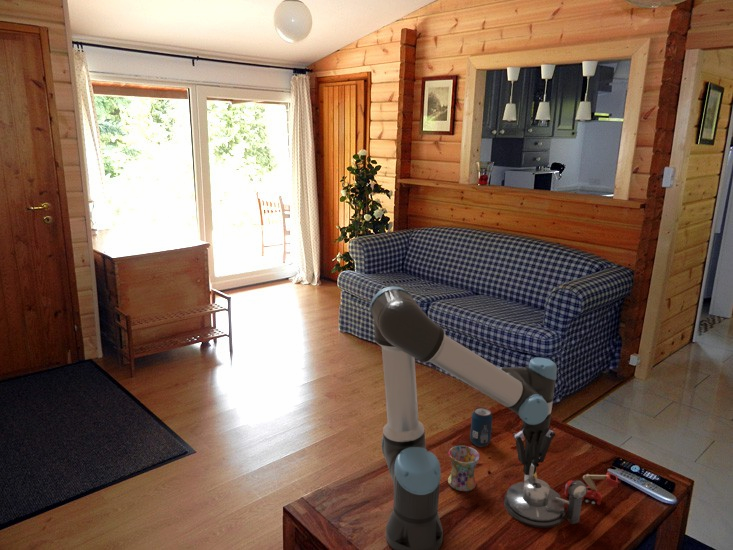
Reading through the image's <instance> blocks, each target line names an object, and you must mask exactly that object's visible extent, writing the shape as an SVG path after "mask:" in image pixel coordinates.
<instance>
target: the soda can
mask: <svg viewBox="0 0 733 550" xmlns="http://www.w3.org/2000/svg"><path fill="white" fill-rule="evenodd" d="M470 421H471V423H470V433H469V435H470V436H469V439H470V441H471V443H472V445H474V446H476V447H479V448H482V447H487V446H488V445H489V444H490V442H491V440H492V439H491V437H492V426H493V415H492V411H491V410H490V409H489V408H486V407H484V406H483V407H482V406H481V407H480V406H479V407H475V408H474V410H473V412H472V413H471V420H470Z"/></svg>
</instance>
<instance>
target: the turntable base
mask: <svg viewBox="0 0 733 550" xmlns="http://www.w3.org/2000/svg"><path fill="white" fill-rule="evenodd" d="M506 496H507V492H506V493H505V494H504V500H503V504H504V505H503V506H504V508H505V510H506V512H507V513H508V514H509V515H510V516H511V517H512V518H514V520H516V521H518V522H520V523H522V524H524V525H526V526H529V527H534V528H538V529H550V528H554V527H556V526H559V525H560V524H562V523H563V521H565V519H566V515H567V510H566V505H565V506H564V513H563V515H562V517H561V518H559V519H558V520H556V521H553V522H548V523H540V522H534V521H530V520H527V519H525V518H522V517H521V516H519V515H517V514H516V513H515V512H513V511H512V510H511V509H510V507H509V506H508V504H507V500H506Z"/></svg>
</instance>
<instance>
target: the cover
mask: <svg viewBox="0 0 733 550" xmlns="http://www.w3.org/2000/svg"><path fill="white" fill-rule="evenodd" d="M523 482H524V490H523V499H524V501H525V502H526V503H528V504H529V505H531V506H534V507H544V506H546V505H547V504H548V499H549V491H550V488H551V487H550V485H549V483H548V482H546V481H545V480H543V479H541V478H538V477H537V478H529V479H527V480H526V481H523Z"/></svg>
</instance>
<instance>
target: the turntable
mask: <svg viewBox="0 0 733 550" xmlns="http://www.w3.org/2000/svg"><path fill="white" fill-rule="evenodd" d="M537 474H538V473H537V472H536V473H535V474H533V478H537V479H538V475H537ZM524 482H525V481H519V482H516V483H514V484H512V485H511V486H509V488H508V489H507V491H506V493H507V496H506V500H507V504H508V506H509V507H510V509H511V510H512V511H513V512H515V513H516V514H517V515H519V516H521V517H522V518H525V519H527V520H530V521H534V522H540V523H548V522H553V521H556V520H558V519H559V518H561V517H562V515H563V513H564V506H565V507H566V504H565V503H563V502H560V501H557V500H555V499H556V497H558V498H561V499H563V497H562V496H561V495H560V493H558V492H557V490H556V491H555V490H554V489H553V488H551V487H550V491H549V499H548V504H547V505H546V506H544V507H534V506H531V505H529V504H528V503H526V502H525V501H524V499H523V490H524Z"/></svg>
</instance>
